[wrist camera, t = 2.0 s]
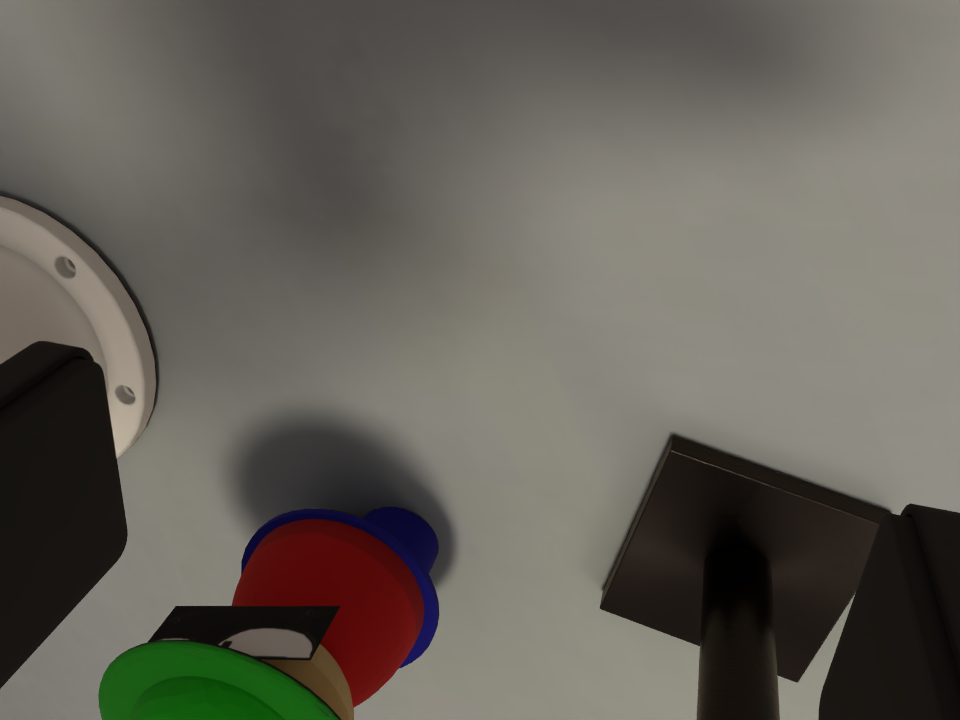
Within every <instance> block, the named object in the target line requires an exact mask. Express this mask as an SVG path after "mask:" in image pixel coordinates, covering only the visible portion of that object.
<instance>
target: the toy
mask: <svg viewBox="0 0 960 720" xmlns="http://www.w3.org/2000/svg"><path fill="white" fill-rule="evenodd" d="M437 554H438V540H437V538H436V535H435V533H434V531H433V530H432V528H431V527H430V526H429V525H428V523H427V522H426V521H424V520H423V519H422V518H421V517H419V516H418V515H416V514H414V513H412V512H410V511H407V510H405V509H401V508H396V507H382V508H378V509H374V510H373V511H371V512H369V513H368V514H366V516H365V517H364V518H363V519H361V518H359V517H356V516H353V515H350V514H346V513H342V512H339V511H333V510H325V509H303V510H296V511H291V512H288V513H284V514H281V515H279V516H277V517H275V518H273V519H271V520H269V521H268V522H267V523H265V524H264V525H263V526H262V527H260V528H259V529H258V531H257V532H256V533H255V534H254V536H253V537H252V538H251V540H250V541H249V543H248V545H247V547H246V548H245V552H244V555H243V559H242V568H241V578H240V580H239V583H238V585H237V588H236V591H235V594H234V598H233V602H232V606H176V607H175V608H174V609H173V611H172V612H171V613H170V614H169V616H168V617H167V618H166V619H165V621H164V622H163V623H162V625H161V626H160V627H159V628H158V630H157V631H156V632H155V634H154V635H153V636H152V637H151V639H150V640H149V641H148V643H144V644H141V645H138V646H136V647H133V648H131V649H129V650H127V651H125V652H124V653H122V654H121V655H119V656H118V657H117V658H116V659H115V660H114V661H113V662H112V663H110V665H109V667H108V668H107V670H106V671H105V673H104V675H103V678H102V681H101V684H100V689H99V708H100V713H101V717H102V720H354V710H353V708H354V707H356V706H357V705H359V704H361V703H362V702H364V701H365V700H367V699H368V698H369V697H371V696H372V695H373V694H374V693H376V692H377V691H378V690H379V689H380V688H381V687H382V686H383V685H384V684H385V683H386V682H387V681H388V680H389V679H390V678H391V677H392V676H393V675H394V673H395V672H396V671H397V670H398V669H399V668H402V667H404V666H406V665H408V664H410V663H412V662H413V661H414V660H416V659H417V658H418V657H420V656H421V655H422V654H423V652H424V651H425V650H426V649H427V648H428V646H429V645H430V643H431V641H432V639H433V637H434V634H435V632H436V629H437V626H438V619H439V602H438V598H437V594H436V590H435V587H434V585H433V583H432V581H431V578H430V576H429V575H428V574H429V572H430V570H431V568H432V565H433V563H434V561H435V559H436V556H437Z"/></svg>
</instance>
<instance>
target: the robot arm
mask: <svg viewBox="0 0 960 720" xmlns="http://www.w3.org/2000/svg"><path fill="white" fill-rule="evenodd" d="M155 390H156V375H155V362H154V356H153V352H152V349H151V345H150V341H149V337H148V334H147V331H146V328H145V326H144V324H143V322H142V319H141V317H140V315H139V313H138V311H137V308H136V306H135V304H134V302H133V301H132V299H131V298H130V296H129V295H128V293H127V291H126V290H125V288H124V287H123V285H122V284H121V282H120V280H119V279H118V277H117V276H116V275H115V274H114V273H113V271H112V270H111V269H110V268H109V267H108V266H107V265H106V263H105V262H104V261H103V260H102V259H101V258H100V256H99V255H98V254H97V253H96V252H95V251H94V250H93V249H92V248H91V247H89V246H88V245H87V244H86V243H85V242H84V241H83V240H82V239H80V238H79V237H78V236H77V235H76V234H75V233H74V232H72V231H71V230H70V229H68V228H67V227H65V226H64V225H62V224H61V223H59V222H58V221H56V220H54V219H53V218H51V217H50V216H48V215H47V214H45V213H44V212H41V211H39V210H37V209H35V208H33V207H30V206H28V205H26V204H24V203H21V202H19V201H17V200H14V199H10V198H6V197H2V196H0V688H1V687H2V686H3V685H4V684H5V683H6V682H7V681H8V680H9V679H10V677H11V676H12V675H13V674H14V673H15V672H16V671H17V670H18V669H19V668H20V667H21V665H22V664H23V663H24V662H25V661H26V660H27V659H28V658H29V657H30V656H31V655H32V653H33V652H34V651H35V650H36V649H37V648H38V647H39V646H40V645H41V644H42V643H43V641H44V640H45V639H46V638H47V637H48V636H49V635H50V634H51V633H52V632H53V631H54V629H55V628H56V627H57V626H58V625H59V624H60V623H61V622H62V621H63V620H64V619H65V617H66V616H67V615H68V614H69V613H70V612H71V611H72V610H73V609H74V608H75V607H76V605H77V604H78V603H79V602H80V601H81V600H82V599H83V598H84V597H85V596H86V594H87V593H88V592H89V591H90V590H91V589H92V588H93V587H94V586H95V585H96V584H97V582H98V581H99V580H100V579H101V578H102V577H103V576H104V575H105V574H106V573H107V572H108V570H109V569H110V568H111V567H112V566H113V565H114V564H115V563H116V562H117V560H118V559H119V558H120V556H121V555H122V553H123V551H124V548H125V545H126V542H127V524H126V518H125V511H124V504H123V497H122V491H121V484H120V477H119V471H118V464H117V459H118V458H119V457H120V456H121V455H122V454H123V453H125V452H126V451H127V450H128V449H129V448H130V447H131V446H132V445H133V444H134V443H135V441H136V440H137V439H138V437H139V436H140V435H141V433H142V432H143V431H144V429H145V428H146V425H147V422H148V420H149V417H150V415H151V412H152V410H153V405H154V398H155ZM819 720H960V513H958V512H952V511H947V510H942V509H936V508H931V507H926V506H920V505H915V504H909V505H907V506H906V507H905V508H904V510H903V511H902V513H901V515H895V514H890V513H887V514H885V515H884V516H883V518H882V520H881V522H880V524H879V527H878V530H877V533H876V536H875V539H874V542H873V545H872V548H871V550H870V553H869V556H868V559H867V562H866V565H865V568H864V571H863V574H862V576H861V579H860V582H859V585H858V588H857V591H856V594H855V597H854V600H853V602H852V605H851V608H850V611H849V614H848V617H847V620H846V623H845V626H844V628H843V631H842V634H841V637H840V640H839V643H838V646H837V649H836V652H835V654H834V657H833V660H832V663H831V666H830V669H829V672H828V675H827V678H826V680H825V683H824V686H823V690H822V693H821V698H820V705H819Z"/></svg>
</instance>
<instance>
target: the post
mask: <svg viewBox="0 0 960 720" xmlns="http://www.w3.org/2000/svg"><path fill="white" fill-rule="evenodd" d="M887 513H890V514H892V513H891V512H888V511H885V510H883V509H880V508H877V507H874V506H871V505H868V504H866V503H863V502H860V501H857V500H854V499H851V498H849V497H846V496H843V495H840V494H837V493H834V492H832V491H829V490H826V489H823V488H820V487H817V486H815V485H812V484H809V483H806V482H803V481H800V480H798V479H795V478H792V477H789V476H786V475H783V474H781V473H778V472H775V471H772V470H769V469H766V468H764V467H761V466H758V465H755V464H752V463H749V462H747V461H744V460H741V459H738V458H735V457H732V456H730V455H727V454H724V453H721V452H718V451H715V450H713V449H710V448H707V447H704V446H701V445H698V444H696V443H693V442H690V441H687V440H684V439H681V438H679V437H676V436H672V437H671V439H670V441H669V444H668V446H667V448H666V450H665V453H664V455H663V457H662V459H661V462H660V464H659V466H658V468H657V471H656V473H655V475H654V477H653V480H652V482H651V484H650V486H649V489H648V491H647V493H646V496H645V498H644V500H643V502H642V505H641V507H640V509H639V511H638V514H637V516H636V518H635V520H634V523H633V525H632V527H631V529H630V532H629V534H628V536H627V538H626V541H625V543H624V545H623V547H622V550H621V552H620V554H619V556H618V559H617V561H616V563H615V565H614V568H613V570H612V572H611V575H610V577H609V579H608V581H607V584H606V586H605V588H604V590H603V593H602V598H601V604H600V609H602V610H604V611H607V612H610V613H612V614H615V615H618V616H620V617H623V618H626V619H628V620H631V621H634V622H636V623H639V624H642V625H644V626H647V627H650V628H652V629H655V630H658V631H661V632H663V633H666V634H669V635H671V636H674V637H677V638H679V639H682V640H685V641H687V642H690V643H693V644H695V645H698V646H700V659H699V681H698V703H697V720H780V715H779V696H778V678H777V675H778V676H781V677H783V678H786V679H789V680H791V681H794V682H798V681H799V680H800V678H801V677H802V675H803V674H804V672H805V670H806V669H807V667H808V666H809V664H810V663H811V661H812V659H813V658H814V656H815V655H816V653H817V652H818V650H819V649H820V647H821V645H822V644H823V642H824V641H825V639H826V638H827V636H828V635H829V633H830V631H831V630H832V628H833V627H834V625H835V624H836V622H837V621H838V619H839V617H840V616H841V614H842V613H843V611H844V610H845V608H846V606H847V605H848V603H849V602H850V600H851V599H852V597H853V596H854V594H855V592H856V591H857V588H858V585H859V582H860V579H861V576H862V574H863V571H864V568H865V565H866V562H867V559H868V556H869V553H870V550H871V548H872V545H873V542H874V539H875V536H876V533H877V530H878V527H879V524H880V522H881V520H882V518H883V516H884V515H885V514H887Z"/></svg>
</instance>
